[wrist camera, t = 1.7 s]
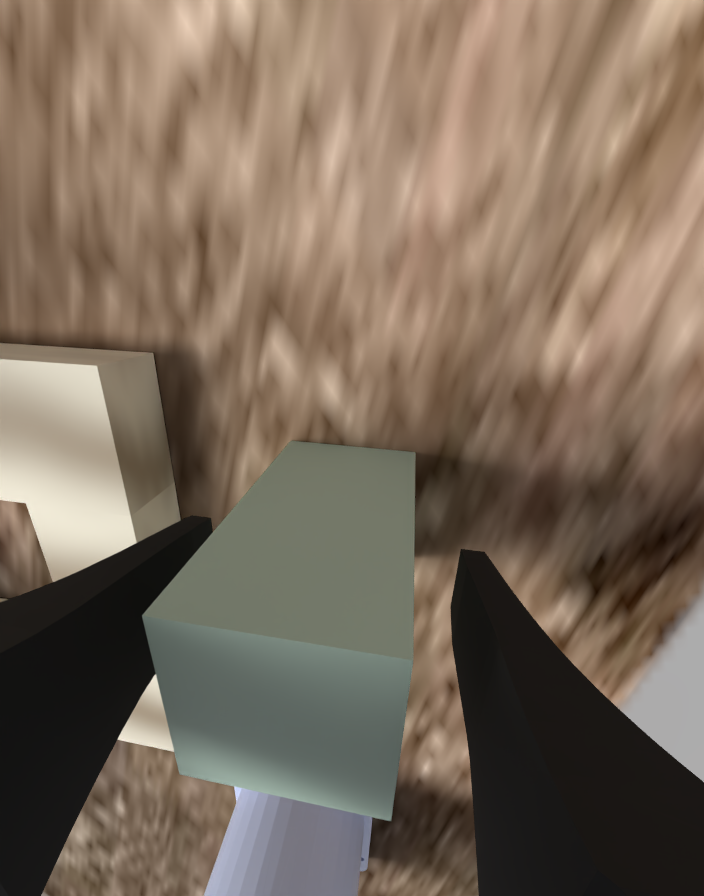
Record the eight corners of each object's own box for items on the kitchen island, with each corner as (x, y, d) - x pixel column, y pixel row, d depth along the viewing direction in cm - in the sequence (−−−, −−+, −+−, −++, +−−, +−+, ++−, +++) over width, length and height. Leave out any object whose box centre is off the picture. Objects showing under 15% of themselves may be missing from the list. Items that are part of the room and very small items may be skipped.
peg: (404, 556, 15) (390, 821, 7) (293, 542, 15) (179, 774, 8) (415, 452, 13) (412, 660, 6) (290, 440, 13) (141, 615, 6)
